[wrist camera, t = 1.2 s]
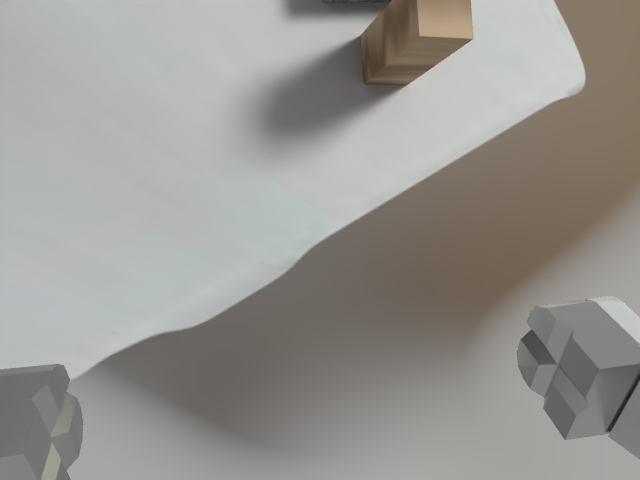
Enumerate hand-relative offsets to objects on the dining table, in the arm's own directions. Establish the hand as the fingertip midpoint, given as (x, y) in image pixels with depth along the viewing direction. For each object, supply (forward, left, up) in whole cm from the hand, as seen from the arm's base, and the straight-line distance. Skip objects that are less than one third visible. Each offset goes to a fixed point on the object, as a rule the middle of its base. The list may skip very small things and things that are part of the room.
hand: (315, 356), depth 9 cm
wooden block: (-18, +22, -39) cm, 48 cm away
